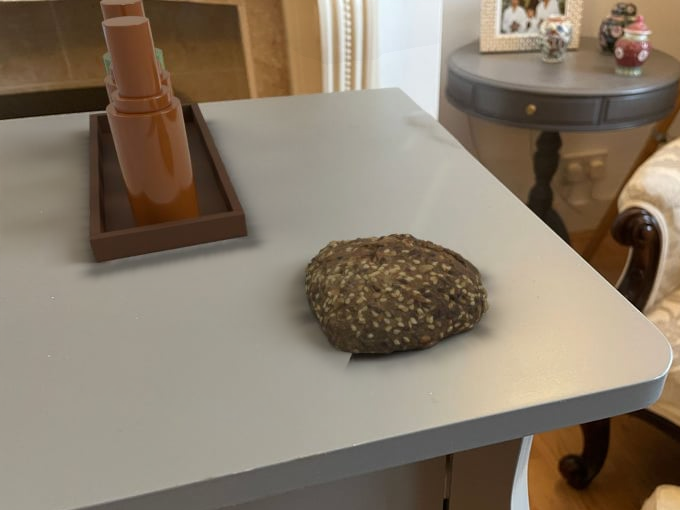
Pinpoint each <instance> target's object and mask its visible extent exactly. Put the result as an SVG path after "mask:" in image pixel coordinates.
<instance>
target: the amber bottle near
mask: <svg viewBox="0 0 680 510" xmlns="http://www.w3.org/2000/svg"><path fill="white" fill-rule="evenodd" d="M101 27H102V31H103V36H104V40H105V44H106V48H107V52H108V53H109V57H110V61H111V66H112V70H113V74H114V78H115V83H116V87H117V90H115V91H114V92H113V93H112V95H111V97H112V101H113V102H112V103H109V104H107V106H106V108H105V113H106V112H107V116H108V120H109V124H110V128H111V132H112V136H113V140H114V144H115V148H116V152H117V156H118V160H119V164H120V168H121V172H122V176H123V180H124V184H125V188H126V192H127V196H128V200H129V204H130V208H131V212H132V216H133V220H134V224H135V228H136V227H142V226H148V225H154V224H160V223H166V222H172V221H178V220H184V219H190V218H196V217H201V212H200V206H199V201H198V195H197V190H196V184H195V179H194V173H193V168H192V163H191V157H190V152H189V146H188V141H187V135H186V130H185V124H184V119H183V113H182V108H181V104H182V103H181V100H180V98H178V97H177V96H175V95H174V96H171V93H170V89H169V88H168V87H167V86H165V85H162V83H161V78H160V73H159V67H158V62H157V57H156V52H155V48H156V46H155V47H154V45H155V41H154V38H153V33H152V32H153V31H152V28H151V22H150V19H149V18H148V17H146V16H145V17H140V16H125V17H116V18H111V19H107V20H105V21H104V20H103V21H101ZM153 41H154V42H153Z"/></svg>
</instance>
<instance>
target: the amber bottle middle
mask: <svg viewBox="0 0 680 510" xmlns="http://www.w3.org/2000/svg"><path fill="white" fill-rule="evenodd" d="M99 4H100V9H101V12H102V17H103V21H105V20H107V19H111V18H116V17H125V16H140V17H146V12H145V8H144V3H143V0H101V1H100V2H99ZM157 62H158V67H159V73H160V78H161V83H162V85H165V86H167V87H168V88H169V89H170V93H171V96H174V97H175V92H174V87H173V81H172V75H171V73H170V72H169V71H168V70H167V69H166V70H164V69H162V67H161V62H160V61H159V60H157ZM109 71H110V75H108V76H107V75H106V76H105V77H104V79H103V83H104V86H105V90H106V95H107V99H108V103H109V104H110V103H112V102H113V101H112V97H111V95H112V93H113V92H114V91H115V90H117V87H116V83H115V78H114V74H113V70H112V66H111V64H110V65H109Z"/></svg>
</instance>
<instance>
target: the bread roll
mask: <svg viewBox="0 0 680 510" xmlns="http://www.w3.org/2000/svg"><path fill="white" fill-rule="evenodd" d="M310 261H311V262H310V263H307V265H306V267H305V268H304V269H305V284H304V291H305V293H306V297H307V299H308V303H309V306H310V309H311V310H312V312H313V314H314V316H315V318H316V319H317V320H318V321H319V323H320V327H322V331H323V332H324V334H325V335H326V337H327V339H328V342H330V343H331V345H332V346H334V347H335V348H336V349H338V350H339V351H342V352H351V353H352V354H363V353H364V354H387V355H390V354H392V353H393V352H394V351H395V352H396V351H409V350H425V349H427V348H431V347H434V346H436V345H437V344H438V343H439V342H440V341H441V340H444V339H446V338H448V337H451V336H454V335H456V334H460V333H464V332H467V331H471V330H473V329H474V328H475V327H476V326H477V325H478V324H480V322H481V321H482V319H483V317H484V316H485V314H486V313H487V311H488V310H489V307H490V304H489V301H488V300H487V299H488V296H489V295H488V292H487V290H486V288H485V287H484V286H483V283H482V280H483V279H482V274H481V273H480V270H479V268H478V267H477V266H475V265H474V264H473V263H472V261H470V260H468V259H466V258H464V257H463V256H462V255H461V254H460V253H458V252H457V251H455V250H453V249H450V248H448V247H443V245H441V244H436V243H434V242H432V241H431V240H425V239H420V238H419V239H418V238H417V237H415V236H414V235H413V234H410V233H399V234H398V233H391V234H389V235H381V236H379V237H378V236H369V237H357V238H355V239H347V240H345V239H341V240H330V241H329V242H328V243H327V244H326V246H325V247H323V248H320V250H319V251H318V254H315V255H314V257H312V258H311V260H310Z"/></svg>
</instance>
